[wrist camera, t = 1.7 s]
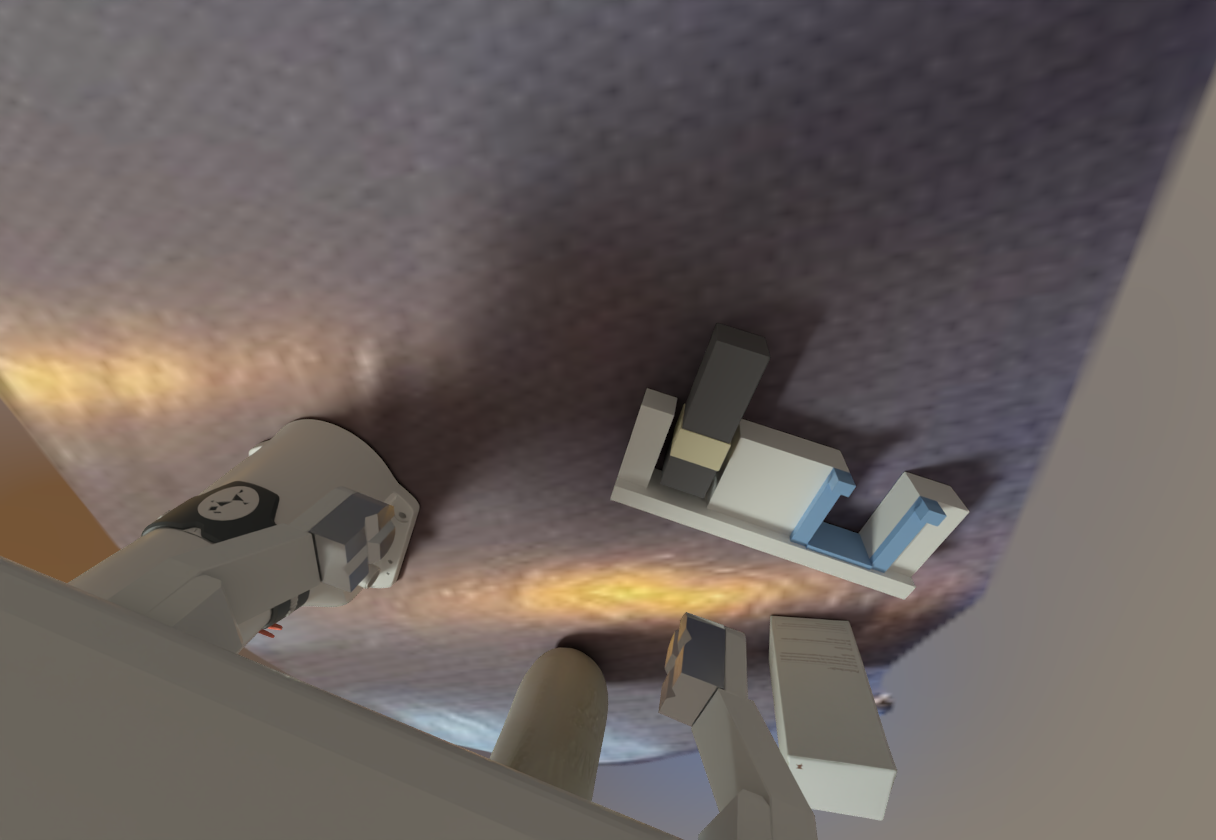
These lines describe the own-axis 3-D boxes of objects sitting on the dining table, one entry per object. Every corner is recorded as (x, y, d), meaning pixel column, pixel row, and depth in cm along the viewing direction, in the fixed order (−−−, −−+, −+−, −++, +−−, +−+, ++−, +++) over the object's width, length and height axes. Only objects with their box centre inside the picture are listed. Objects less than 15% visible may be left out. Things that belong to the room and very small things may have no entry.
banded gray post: (706, 469, 38) (705, 499, 34) (663, 455, 38) (658, 484, 35) (766, 337, 32) (772, 358, 28) (715, 322, 32) (715, 340, 28)
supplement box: (767, 661, 47) (782, 806, 36) (769, 612, 44) (786, 756, 33) (844, 669, 46) (884, 825, 35) (852, 619, 42) (899, 773, 31)
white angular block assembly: (887, 561, 38) (907, 606, 34) (619, 471, 40) (608, 504, 36) (950, 486, 34) (981, 527, 30) (646, 388, 35) (637, 414, 31)
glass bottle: (631, 679, 54) (561, 1090, 30) (562, 689, 58) (451, 1057, 34) (589, 624, 50) (473, 1033, 26) (519, 639, 55) (363, 1006, 30)
